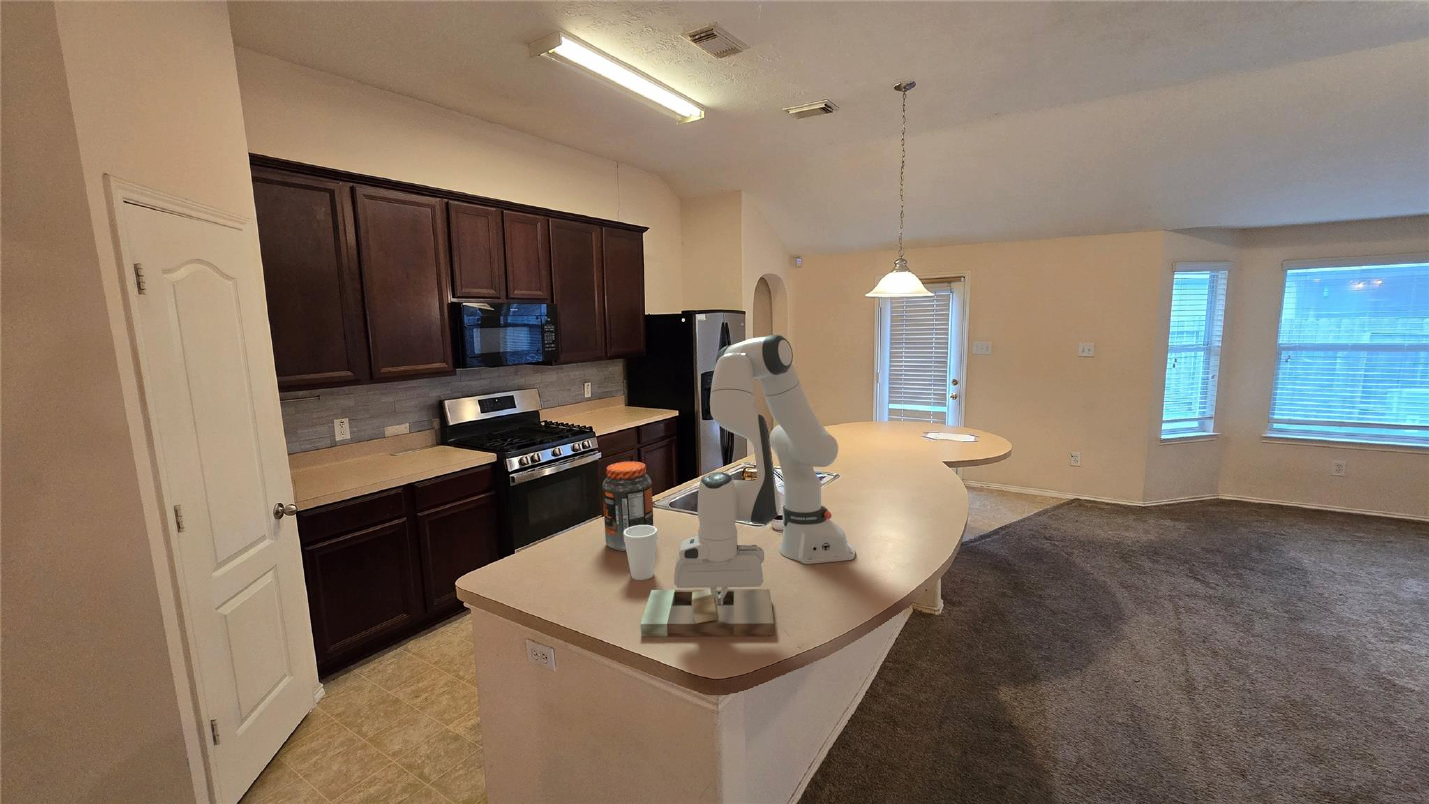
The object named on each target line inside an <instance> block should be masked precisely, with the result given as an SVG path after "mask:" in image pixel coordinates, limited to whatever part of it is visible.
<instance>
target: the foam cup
mask: <svg viewBox="0 0 1429 804" xmlns="http://www.w3.org/2000/svg"><path fill="white" fill-rule="evenodd" d="M657 541H658V527H655V526H654V525H653V526H650V525H637V526H632V527H629V528H627V529H626V530H624V542H625V546H626V551H625V552H626V556H627V562H628V567H629V570H630V571H629V573H630V575H631V578H632V579H633V580H636V581H644V580H648V579H650V578H652V577H653V576H654V575H655V574H654V573H655V563H656V553H657V552H656V551H657Z"/></svg>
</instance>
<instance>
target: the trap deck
mask: <svg viewBox="0 0 1429 804" xmlns="http://www.w3.org/2000/svg"><path fill="white" fill-rule="evenodd" d="M702 590H703V589H651V590H650V594H649V596H648V600H647V603H646V605H645V609H644V612H643V615H642V618H641V622H640V637H768V636H767V635H770V636H769V637H773V636H772V635H774V636H775V622H774V614H773V606H772V598H771V589H770V588H764V589H763V588H756V589H755V588H753V589H752V588H750V589H748V588H745V589H742V588H741V589H740V588H739V589H734V588H733V589H730V588H729V589H728V591H727V593H726V595H725V596H724V598H723V605H717V609H718V620H713V621H707V622H701V623H696V622H695V617H694V613H693V608H692V592H696V591H702ZM721 592H722V589H717V593H718V595H720V594H721ZM763 635H765V636H763Z"/></svg>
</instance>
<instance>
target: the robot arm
mask: <svg viewBox="0 0 1429 804" xmlns="http://www.w3.org/2000/svg"><path fill="white" fill-rule="evenodd" d="M793 358H794V355H793V349H792V345H791V343H790V341H788V339H786V338H785V337H784V336H783V335H781V334H780V335H779V334H769V335H766V336H757V337H753V338H748V339H746V340H743V341H740V342H737V343H734V344H729V345H726V346H724V347H722V348H721V349H720V350H719V351H718V352H717V355H716V357H715V368H714V370H713V375H712V380H711V386H710V387H711V388H710V394H709V395H710V397H709V407H710V409H709V410H710V415H711V417H712V419H713V420H714V422H715V423H716V424H717V425H718V426H720V427H721V428H722V429H724V430H726V431H728V432H730V433H732V434H735V435H738V436H740V437H742V438H744V439H746V440H748V441H749V442H750V443H751V444H752V446H753V451H754V458H755V459H754V461H755V469H756V475H757V477H756V479H754V480H747V479H746V480H744V479H741V480H740V479H734V478H733V476H732V475H730V474H729V473H726V472H721V471H718V472H710V473H708V474H705V475H703V476H702V477H701V478H700V480H699V484H698V492H697V518H698V521H699V526H698V527H699V528H698V530H697V531H698V532H697V535H694V536H692V537H688V538H686V539H683V540H681V542H680V544H679V548H678V555H677V557H676V561H675V562H676V563H675V567H674V575H673V576H674V577H673V583H674V584H673V585H674V586H676V588H678V589H693V588H694V589H697V588H699V589H700V588H709V589H710V591H711V593H712V595H714V598H715V599H716V605H723V598H724V596H725V595H726V593H727V591H728V588H745V587H746V588H748V587H749V588H755V587H757V588H758V587H761V586H762V585H763V583H764V575H763V574H764V573H763V566H762V564H763V562H764V560H765V551H764V549H763V548H762V547H760V546H758V545H757V544H751V545H746V544H739V545H738V529H737V526H736V522H748V523H749V522H750V523H752V524H758V525H759V524H760V525H768V524H770V523H771V522H772V521H773V520H774V519H776V518H777V517H778V516H779V512H780V506H781V501H780V499H781V498H780V494H779V491H778V487H777V485H776V484H777V483H776V477H775V470H774V469H775V468H774V463H773V462H774V461H773V454H772V450H773V452H774V454H775V456H776V458H777V460H778V461H777V462H778V465H779V467H780V471H781V474H782V480H783V481H782V482H783V494H784V495H783V497H784V498H783V499H784V500H783V501H784V504H783V506H782V524H783V529H782V530H783V531H782V532H783V533H782V538H781V542H780V546H779V552H780V554H781V555H782V556H784V557H786V558H788V559H790V560H794V561H797V562H799V563H801V564H804V565H812V564H821V563H832V562H842V561H843V562H844V561H850V560H851V561H852V560H854V559H855V556H856V551H855V548H854V546H853V544H851V543H850V542H849V541H848V540H847V536H846V533H845V532H844V530H843V528H842V527H841V526H839V524H837V523H835V521H833V520H831V518H832V516H833V515H832V513H831V512H830V511H829V509H828V508H827V507H826V506H825V505H822V482H821V480H820V477H819V476H818V475H817V474H816V472H815V469H814V468H826V467H828V466H831V465H832V464H833V463H835V460H836V458H837V457H838V455H839V454H838V453H839V445H838V441H837V439H836V437H834V436H833V435H832V434H831V433H830V432H829V431H827V430H826V428H825V427H824V426H823V424H822V423H821V422H820V420H819V418H818V417H817V416H816V414H815V412H814V411H813V409H812V408H811V406H810V404H809V402H808V400H807V398H806V394H805V391H804V389H803V387H802V384H801V381H800V378H799V376H798V373H797V371H796V369H795V366H794V365H793ZM757 380H758V382H759V385H760V388H761V392H762V393H763V396H764V397H763V398H764V400H765V403H766V405H767V407H768V410H769V413H770V414H771V417H772V418H773V420H774V421H775V422H776V423H778V424H777V425H776V426H775V427H773V429H772V430H771V432H770V433H769V430H768V428H769V427H768V425H767V420H766V419H765V417H764V416H763V415H762V414H759V412H758V411H757V408H756V406H755V381H757ZM718 588H721V589H720V590H722V592H721V594H720V595H718V593H717V590H718Z"/></svg>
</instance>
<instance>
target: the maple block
mask: <svg viewBox="0 0 1429 804" xmlns="http://www.w3.org/2000/svg"><path fill="white" fill-rule="evenodd" d="M701 590H702V591H696V592H692V608H693V613H694V617H695V622H696V623H701V622H707V621H713V620H718V609H717V605H716V599H715V598H714V595H712V593H711V591H710V588H709V589H701Z"/></svg>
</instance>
